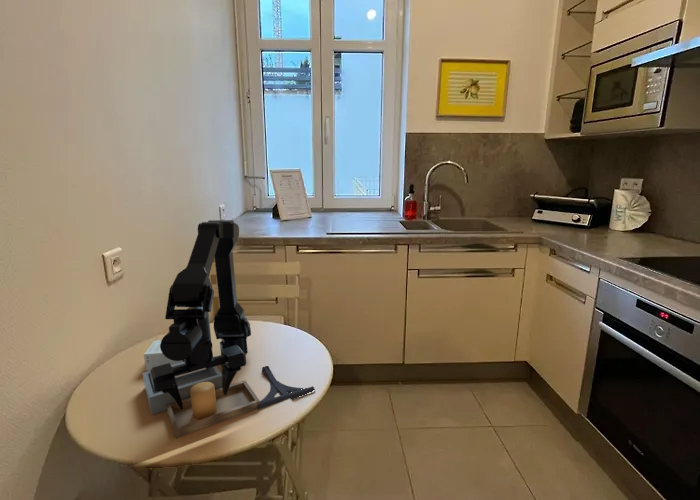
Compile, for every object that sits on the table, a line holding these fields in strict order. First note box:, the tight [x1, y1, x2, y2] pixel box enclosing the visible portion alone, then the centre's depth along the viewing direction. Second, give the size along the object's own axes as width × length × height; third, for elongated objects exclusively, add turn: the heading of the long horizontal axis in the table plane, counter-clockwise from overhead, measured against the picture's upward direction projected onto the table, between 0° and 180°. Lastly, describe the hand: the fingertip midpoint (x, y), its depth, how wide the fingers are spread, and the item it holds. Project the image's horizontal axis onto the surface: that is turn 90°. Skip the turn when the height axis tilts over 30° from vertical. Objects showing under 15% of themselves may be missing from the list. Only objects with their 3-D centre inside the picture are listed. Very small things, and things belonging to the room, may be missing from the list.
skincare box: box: [143, 339, 183, 372], centre depth 110 cm, size 8×6×15 cm
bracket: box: [257, 365, 316, 410], centre depth 100 cm, size 14×15×3 cm
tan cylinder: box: [190, 382, 217, 420], centre depth 89 cm, size 5×5×6 cm
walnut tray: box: [166, 380, 261, 439], centre depth 90 cm, size 18×10×2 cm, turn 123°
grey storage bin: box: [142, 362, 222, 415], centre depth 98 cm, size 16×12×5 cm
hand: (203, 401), depth 89 cm, fingers open, 9 cm apart
